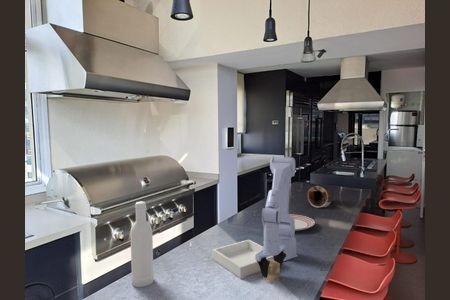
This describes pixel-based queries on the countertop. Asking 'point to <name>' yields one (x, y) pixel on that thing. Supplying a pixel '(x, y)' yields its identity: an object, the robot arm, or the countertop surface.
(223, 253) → the bin
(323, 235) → the countertop surface
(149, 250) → the bottle
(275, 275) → the maple block
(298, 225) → the dinner plate
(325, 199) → the clay pot
